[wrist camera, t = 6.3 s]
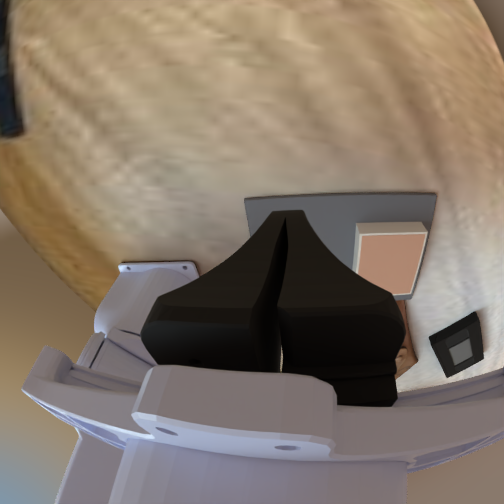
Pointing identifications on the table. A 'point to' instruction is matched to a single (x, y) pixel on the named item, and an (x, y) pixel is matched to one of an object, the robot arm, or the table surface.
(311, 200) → the mat
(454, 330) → the vhs tape
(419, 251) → the tile
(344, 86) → the table surface
